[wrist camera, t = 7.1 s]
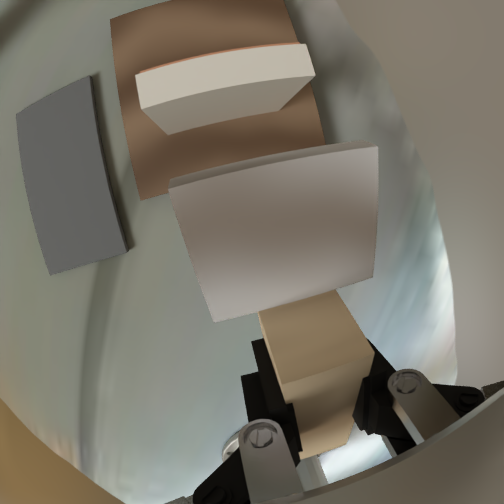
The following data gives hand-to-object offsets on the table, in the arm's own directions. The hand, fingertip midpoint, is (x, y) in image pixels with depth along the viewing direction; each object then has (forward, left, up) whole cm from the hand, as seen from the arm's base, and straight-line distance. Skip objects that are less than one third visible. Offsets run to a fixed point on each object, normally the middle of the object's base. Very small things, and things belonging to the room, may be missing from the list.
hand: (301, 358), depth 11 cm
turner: (+2, 0, 0) cm, 2 cm away
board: (+16, 0, -12) cm, 20 cm away
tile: (+13, 0, -11) cm, 17 cm away
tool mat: (+12, +14, -12) cm, 22 cm away
